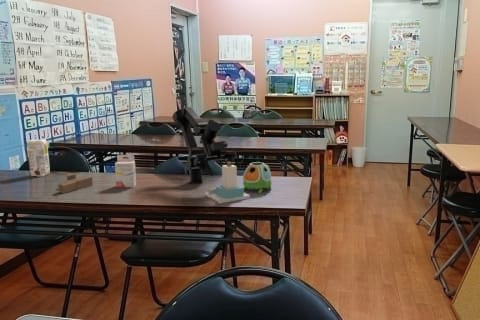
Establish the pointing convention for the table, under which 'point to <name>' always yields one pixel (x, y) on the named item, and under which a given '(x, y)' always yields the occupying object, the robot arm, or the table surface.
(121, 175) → the ink cartridge box
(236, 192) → the cleat stand
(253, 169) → the turtle holder
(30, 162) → the juice carton
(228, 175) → the block
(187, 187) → the table surface
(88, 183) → the wooden block set
